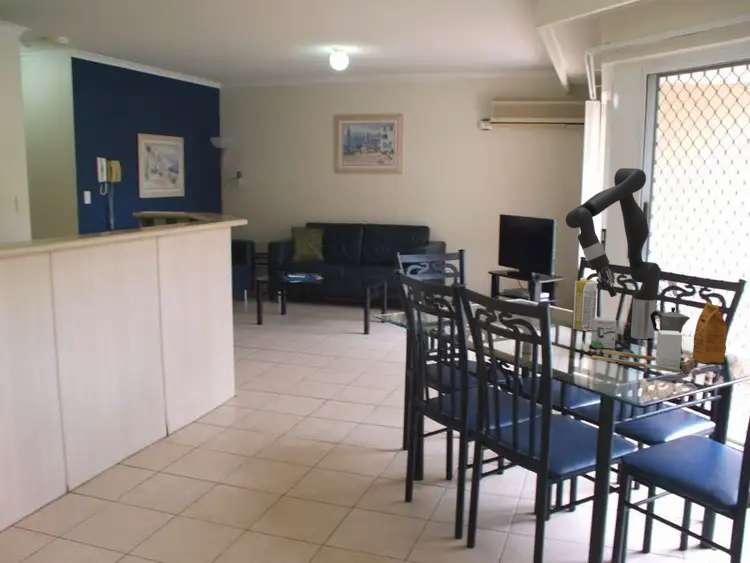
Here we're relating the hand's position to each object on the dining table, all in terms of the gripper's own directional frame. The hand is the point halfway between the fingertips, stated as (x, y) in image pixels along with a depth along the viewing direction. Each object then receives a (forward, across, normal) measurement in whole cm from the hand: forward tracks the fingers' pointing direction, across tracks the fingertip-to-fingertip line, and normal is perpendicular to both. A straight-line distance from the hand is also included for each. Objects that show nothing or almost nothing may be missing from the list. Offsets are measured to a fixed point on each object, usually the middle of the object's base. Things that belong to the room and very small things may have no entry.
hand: (614, 296), depth 267 cm
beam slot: (+25, -11, -4) cm, 28 cm away
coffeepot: (+30, +13, -5) cm, 33 cm away
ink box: (+19, +4, +15) cm, 25 cm away
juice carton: (+16, +31, +33) cm, 48 cm away
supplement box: (+29, -11, -12) cm, 33 cm away
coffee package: (+36, +6, -20) cm, 42 cm away
